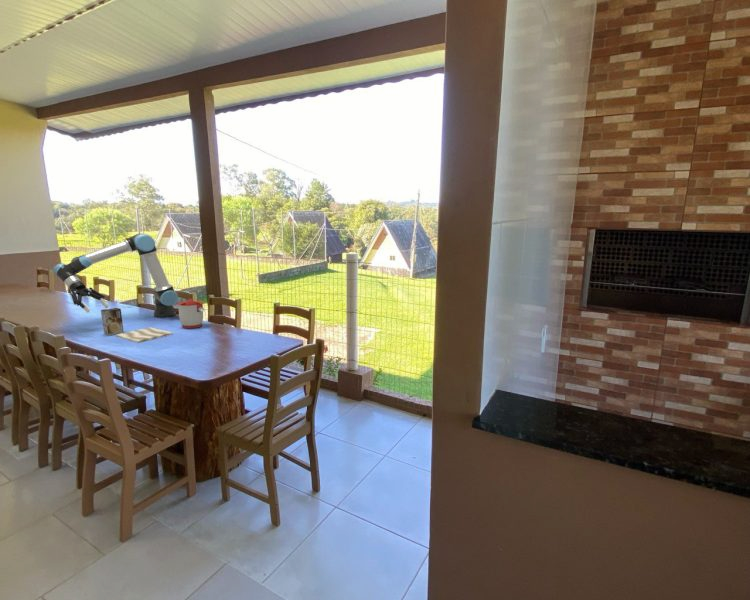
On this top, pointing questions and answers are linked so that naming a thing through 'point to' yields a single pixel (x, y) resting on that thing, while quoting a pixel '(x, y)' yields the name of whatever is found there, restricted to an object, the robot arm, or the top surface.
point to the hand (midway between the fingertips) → (98, 309)
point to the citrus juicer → (191, 313)
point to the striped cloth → (144, 334)
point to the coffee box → (112, 321)
